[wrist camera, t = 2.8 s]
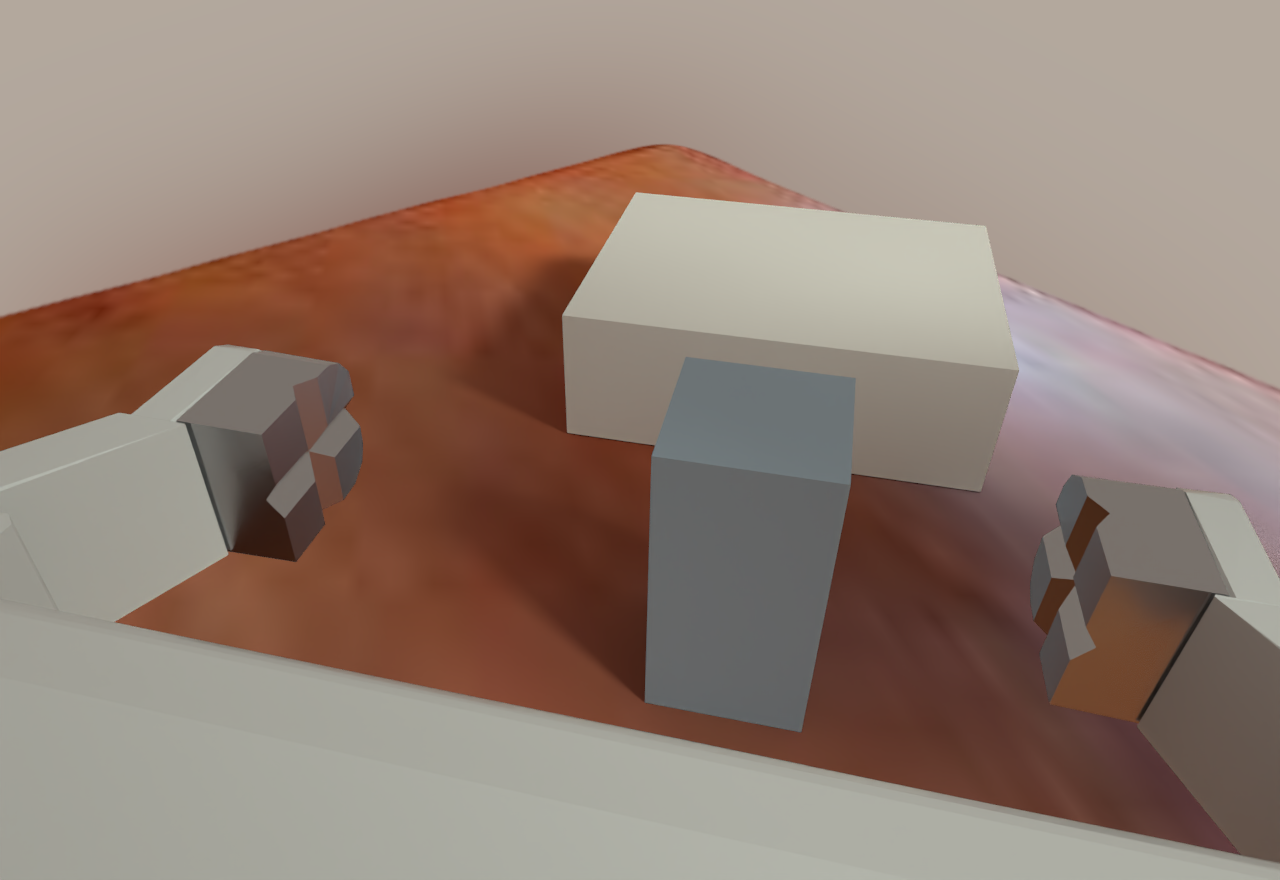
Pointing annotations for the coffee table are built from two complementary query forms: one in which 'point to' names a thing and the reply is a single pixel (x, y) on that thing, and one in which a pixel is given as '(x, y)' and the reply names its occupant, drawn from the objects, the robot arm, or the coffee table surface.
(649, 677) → the slate block
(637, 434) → the base
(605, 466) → the coffee table surface
